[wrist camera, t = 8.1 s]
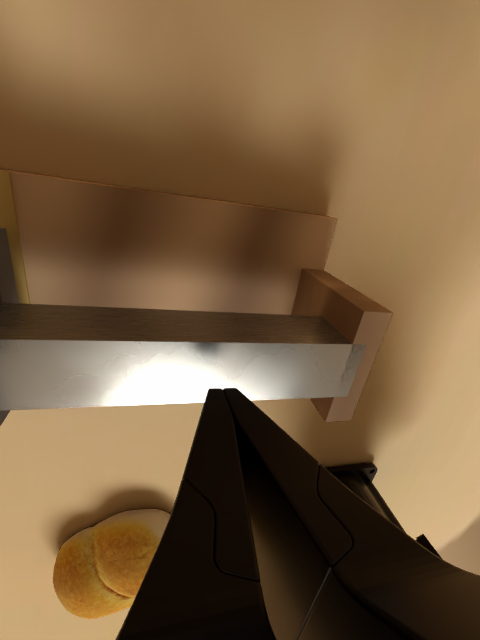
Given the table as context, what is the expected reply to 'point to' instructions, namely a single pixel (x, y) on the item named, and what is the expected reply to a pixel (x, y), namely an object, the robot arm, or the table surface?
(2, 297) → the grey stepped block
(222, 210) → the stand
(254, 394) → the brushed metal beam
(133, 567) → the bread roll
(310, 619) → the robot arm
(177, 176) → the table surface
